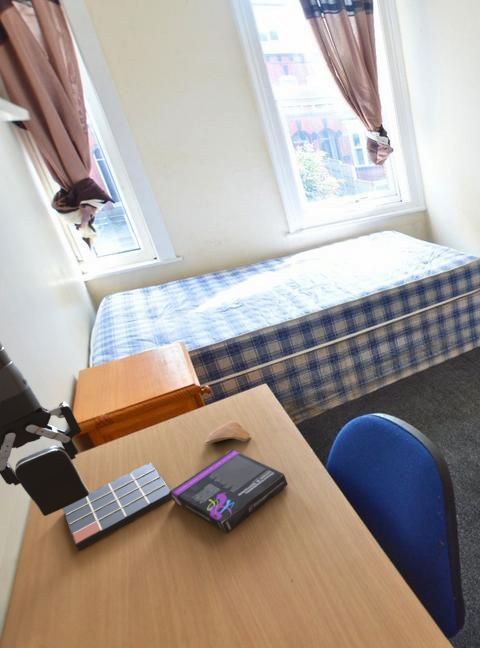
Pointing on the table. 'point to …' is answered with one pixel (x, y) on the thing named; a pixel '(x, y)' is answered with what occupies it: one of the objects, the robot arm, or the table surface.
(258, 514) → the table surface
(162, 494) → the board
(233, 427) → the pottery shard
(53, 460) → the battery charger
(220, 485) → the box
